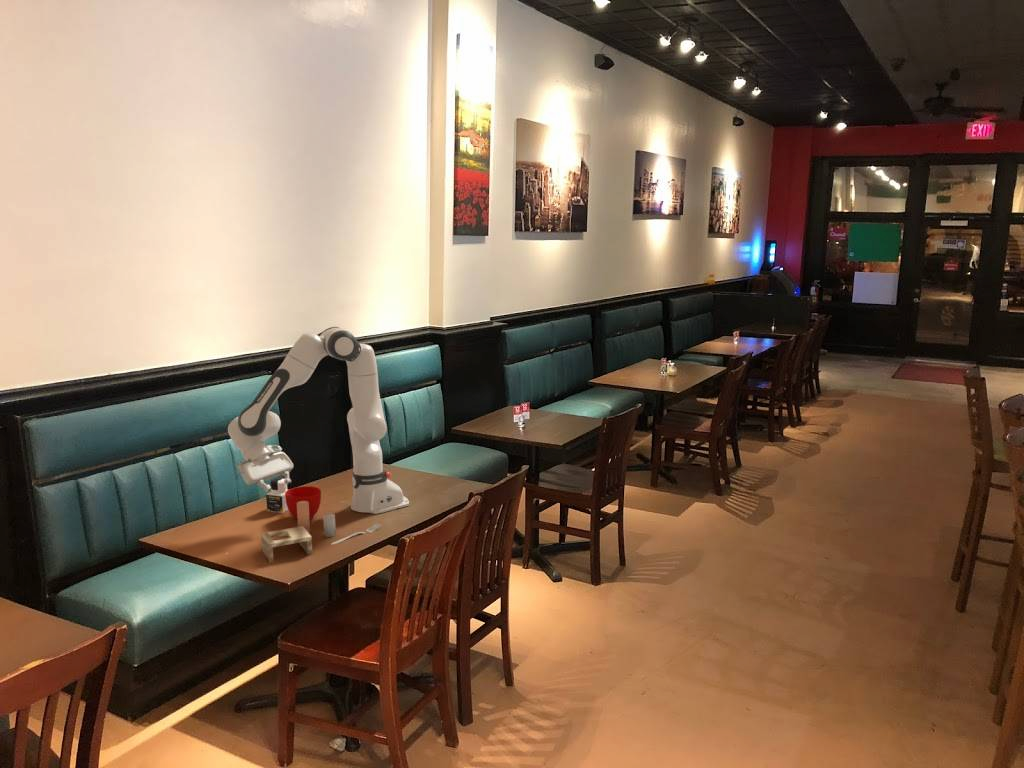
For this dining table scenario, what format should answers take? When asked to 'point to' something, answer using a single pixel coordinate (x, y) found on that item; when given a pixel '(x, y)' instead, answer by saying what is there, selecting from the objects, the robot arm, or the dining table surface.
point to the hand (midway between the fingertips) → (279, 486)
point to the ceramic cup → (303, 499)
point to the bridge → (286, 540)
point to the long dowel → (303, 515)
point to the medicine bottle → (277, 496)
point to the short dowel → (329, 525)
